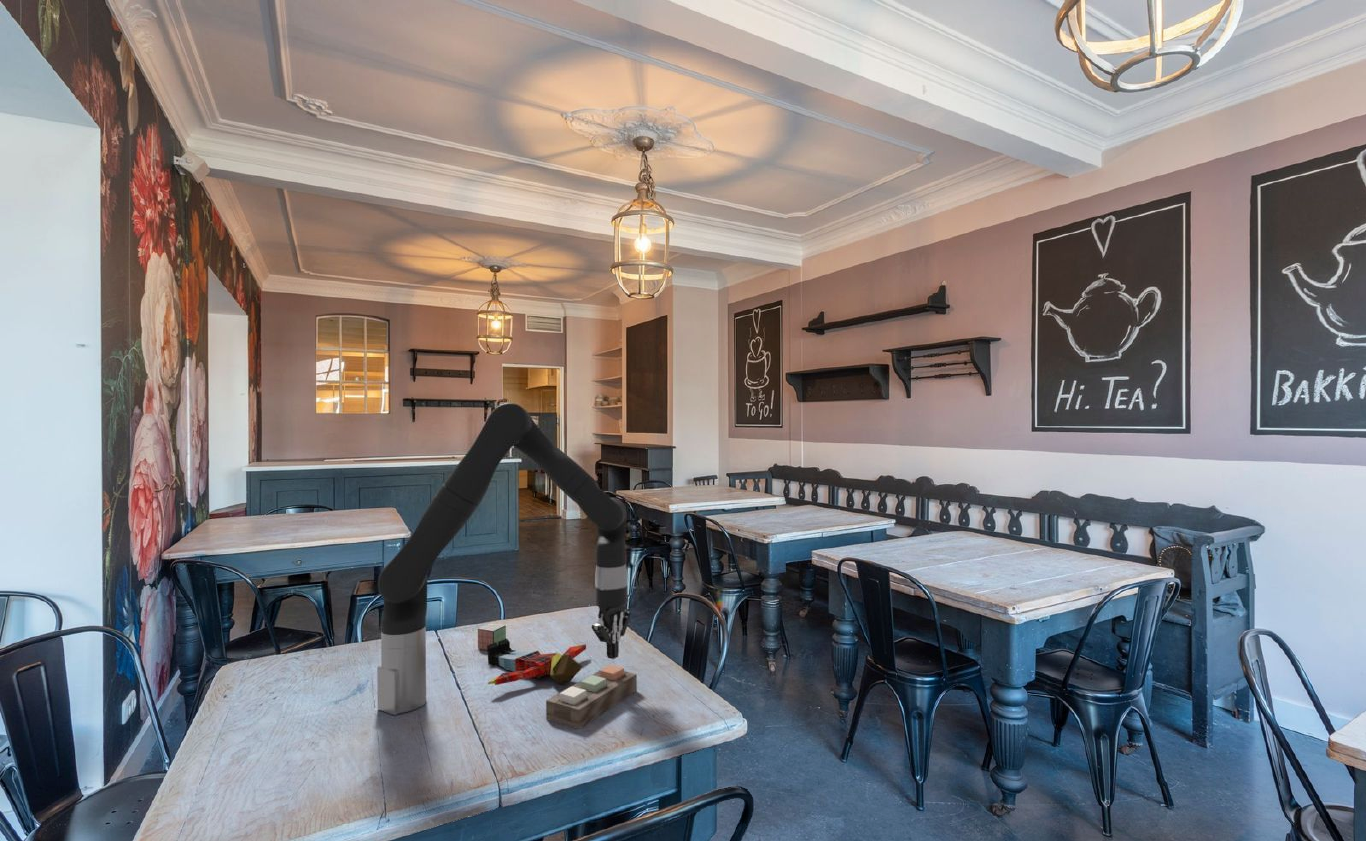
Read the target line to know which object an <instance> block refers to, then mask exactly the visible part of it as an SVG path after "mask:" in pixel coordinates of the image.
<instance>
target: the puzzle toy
mask: <svg viewBox="0 0 1366 841" xmlns="http://www.w3.org/2000/svg"><path fill="white" fill-rule="evenodd" d="M505 639H507V626H506V625H505V624H499V623H488V624H486V625H484V626H481V627H479V628H477V649H478V650H484V651H487V645H490V644H493V643H497V644H498V642H499V641H502V640H505Z"/></svg>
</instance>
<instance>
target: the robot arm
mask: <svg viewBox="0 0 1366 841" xmlns="http://www.w3.org/2000/svg"><path fill="white" fill-rule="evenodd" d="M512 447H514V448H515V449H516V450H519V452H522V454H524V455H526V456H527V457H528V458H529V459H531V461H533V462H534V463H535V464H536V465H537V466H538V467H539V468H540V469H541V470H542V471H543V473H544V474H545V475H546V476H547V477H548V478H549V479H550V480H551V481H552V482H553V483H554V485H555V486H557V488H559V490H561V491H562V492H563V493H564V494H565V495H566V496H567V497H568V498H569V499H571V500H572V501H573V502H574V503H575V504H576V505H578V506H579V508H580V510H581V511H582V512H583V513H584V514H585V515H586V517H587V518H588V519H589V520H590V521H591V522H592V523H593V524H594V525H595V526H596V527H598V531H597V532H598V533H597V534H598V535H597V537H598V539H597V541H596V546H595V573H594V574H595V575H594V576H595V577H594V580H595V582H594V583H595V585H594V586H595V592H594V593H595V604H596V606H597V607H598V609H599V610H598V613H597V614H598V615H597V617H598V620H597V622H596V623H592V624H591V629H592V631H593V632H594V634H595V636H596V637H597V638H598V640H599V641H600V643H601V642H602V643H605V644H606V656H607V658H608V659H611V660H615V659H617V658H619V653H620V650H619V649H620V648H619V646H620V645H619V644H620V643H619V642H620V641H621V637H624V636H625V633H626V630H627V628H628V625H629V622H630V621H631V620H630V619H631V616H632V612H631V611H627V609H626V605H627V604H628V602H629V598H628V597H629V596H628V595H629V594H628V587H629V586H628V570H627V555H626V554H627V551H626V532H627V517H628V516H627V508H626V505H625V504H624V502H623V501H622V500H620V498H617V497H610V496H608V494H606V492H605V491H603V490H602V489H601V488H600V486H599V484H598V482H597V481H596V479H595V478H594V477H592V476H591V475H590V473H588V472H587V471H586V470H585V469H584V468H583V467H582V466H580V464H578V463H577V462H576V461H575V460H573V458H571V457H570V456H569V455H568V454H566V453H565V452H563V451H562V450H561V449H560V448H559V447H558V446H556V444H554V442H552V441H551V439H549V438H548V437H547V435H545V433H543V431H542V430H541V428H539V426H538V425H537V423H536V422H535V421H534V419H533V418H532V416H531V414H530V413H529V412H528V410H527V409H524V407H522V406H521V405H520V404H518V403H515V402H505V403H501V404H499V405H498V406H496V407H495V408H494V409H493V410H492V411H491V413H490V414H489V416H488V417H487V419H486V421H485V423H484V424H483V426H482V429H481V431H480V432H479V434H478V435H477V437H476V439H475V441H474V442H473V444H472V446H470V449H469V450H468V451H467V452H466V454H465V455H464V456H463V457H462V459H461V460H460V461H459V462H458V464H457V465H456V466H455V468H454V469H453V471H452V472H451V473H450V474H449V476H448V477H447V478H446V479H445V481H444V482H443V484H442V485H441V487H440V488H439V490H437V492H436V494H435V495H434V497H433V498H432V500H431V501H430V503H429V505H428V507H427V508H426V509H425V512H424V513H423V515H422V516H421V518H420V520H419V522H418V523H417V526H416V528H415V529H414V531H413V533H412V534H411V536H410V538H409V539H408V540H407V542H406V543H405V544H404V545H403V547H402V548H401V549H400V550H399V551H398V553H397V554H396V555H395V556H394V557H393V559H391V560H390V561H389V562H388V563H386V565H385V566H384V567H383V569H382V570H381V572H380V573H379V576H378V580H377V589H378V592H379V595H380V596H381V598H382V599H383V609H382V614H381V620H380V632H381V633H380V640H381V641H380V642H381V643H380V644H381V645H380V647H381V648H380V651H381V655H380V656H381V657H380V660H381V662H380V664H381V665H378V666H377V667H376V668H377V669H376V670H377V671H376V675H377V676H376V677H377V678H376V679H377V682H376V683H377V686H376V687H377V689H376V690H377V693H376V694H377V710H379V711H382V712H385V713H387V714H390V715H393V716H396V715H398V714H402V713H408V712H411V711H415V710H417V709H420V708H421V707H422V706H424V705H425V703H426V702H427V642H426V640H427V639H426V638H427V637H426V636H427V635H426V632H427V631H426V630H427V629H426V628H427V627H426V626H427V625H426V619H427V618H426V617H427V611H428V574H429V572H430V571H431V569H432V567H433V565H434V563H435V561H436V560H437V559H438V557H439V556H440V555H441V553H442V552H443V551H444V549H445V548H446V547H447V546H448V544H450V542H451V541H452V540H453V539H454V538H455V537H456V536H457V535H458V533H459V532H461V530H462V528H463V527H464V526H465V525H466V524H467V522H468V521H469V520H470V518H471V517H472V516H473V514H474V512H475V511H476V510H477V508H478V507H479V505H480V503H481V502H482V501H483V498H484V497H485V495H486V494H487V491H488V489H489V487H490V484H491V481H492V479H493V477H494V474H495V471H496V470H497V467H498V466H499V465H500V463H501V461H502V460H503V458H504V457H505V456H506V455H507V454H508V452H509V451H510V450H511V448H512Z"/></svg>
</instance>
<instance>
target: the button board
mask: <svg viewBox="0 0 1366 841" xmlns="http://www.w3.org/2000/svg"><path fill="white" fill-rule="evenodd" d="M606 667H607V666H605V667H603V668H602V669H604V668H606ZM592 675H594V676H598V677H600V670H598V671H596V672H594V673H593V674H592ZM590 676H591V675H589V676H587V677H586V678H588V677H590ZM586 678H584V679H586ZM637 679H638V678H637V673H633V672H629V671H625V670H624V676H622V677H620V678H619V679H617V680H615V681H612V680H608V679H606V686H605V687H604V688H602V689H600V690H599V691H597V692H591V691H587V690H586V698H585V699H584V700H582V701H580V702H579V703H577V704H575V705H572V704H569V703H565V702H561V701H560V693H561V692H563V691H565V690H566V689H568V688H570V687H572V686H573V687H576V688H580V689H581V681H582V680H580V681H579V682H576V683H575V684H573V685H571V686H569V687H568V688H566V689H564V690H562V691H561V692H559V693H557V694H555V695H553V696H552V697H550V698H548V699H546V700H545V711H546V713H545V715H546V716H545V720H547V721H551V722H555V723H558V724H562V725H565V726H566V727H567V726H568V727H571V728H573V729H574V728H575V729H577V730H580V729H582V728H583V727H585V726H586V725H588V724H590V722H592V721H593V720H595V719H597V718H598V717H600V716H602V715H603V714H604V713H606V712H608V711H609V710H610V709H611V708H614V706H617V705H618V704H619V703H622V701H624V700H625V699H627V698H629V697H631V696H632V695H634V694H635V693H636V692H637V691H638V683H637V682H638V681H637Z"/></svg>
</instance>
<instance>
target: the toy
mask: <svg viewBox="0 0 1366 841" xmlns="http://www.w3.org/2000/svg"><path fill="white" fill-rule="evenodd" d="M510 646H511V642H510V640H509V639H508V638H506V639H505V640H502V641H499V642H498V644H497V643H493V644H490V645H487V650H486V651H487V663H488V665H491V666H494V665H495V666H500V667H503V668H504V670H507V671H509V672H502V673H501V674H500V675H498V676H496V677H494V678H493V679H491V680H490V681H488V683H487V684H488V685H495V686H498V685H502V684H508V683H512V682H513V683H514V682H516V681H520V680H523V679H532V678H539V679H540V678H541V677H543V676H546V675H549V674H550V676H551V677H552V679H554V680H555V681H556V682H557V684H561V685H569V683H571V682H572V680H573V679H574V677H575V676H576V675H577V674H578V673H579V672H580V671H581V669H582V665H581V664H580V663H579V662H578V661H576V660H575V658H577V656H579V655H580V654H582V653H583V652H584V651H585V650H587V644H586V643H585V644H581V645H575V646H570V647H568V648H567V650H566V651H565V652H564V653H562V654H561V653H558V652H555V653H553V652H551V653H540V651H539V650H535V651H531V650H529V649H526V650H516V649H512V648H511V647H510Z"/></svg>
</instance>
